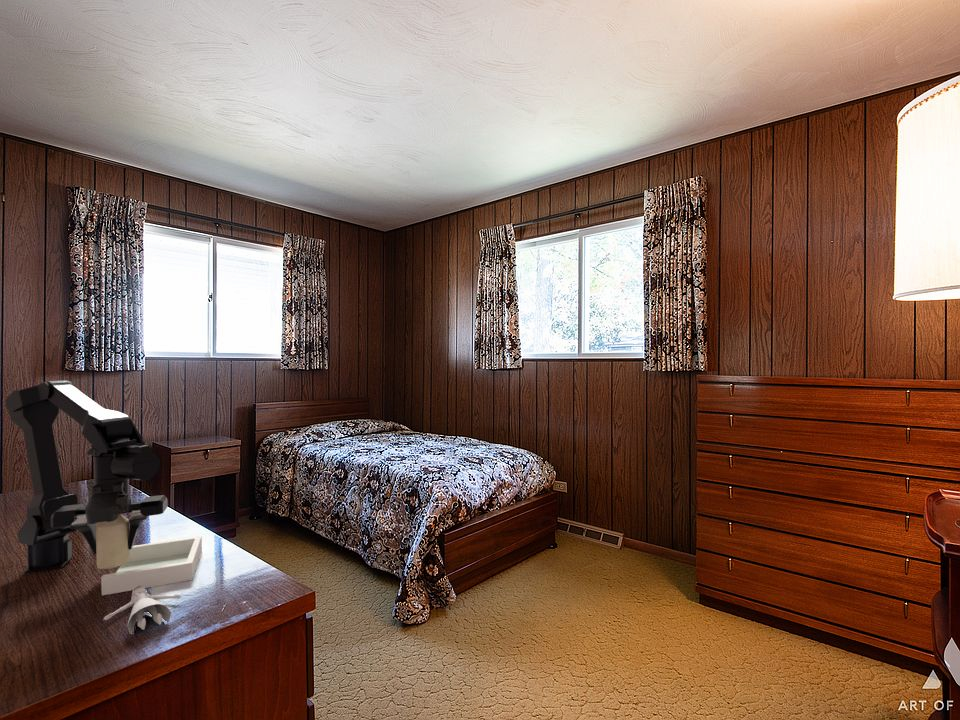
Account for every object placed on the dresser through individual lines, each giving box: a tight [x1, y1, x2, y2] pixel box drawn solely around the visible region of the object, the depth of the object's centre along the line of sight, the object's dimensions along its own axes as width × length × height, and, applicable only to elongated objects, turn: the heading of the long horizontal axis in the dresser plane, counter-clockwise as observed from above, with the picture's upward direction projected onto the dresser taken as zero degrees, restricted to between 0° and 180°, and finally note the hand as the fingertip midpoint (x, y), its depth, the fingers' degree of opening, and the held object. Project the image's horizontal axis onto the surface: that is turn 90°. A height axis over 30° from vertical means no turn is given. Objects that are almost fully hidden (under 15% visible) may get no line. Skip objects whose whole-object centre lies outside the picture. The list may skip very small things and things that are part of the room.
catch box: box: [100, 535, 203, 596], centre depth 105 cm, size 15×16×4 cm
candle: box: [95, 513, 130, 570], centre depth 101 cm, size 6×6×10 cm
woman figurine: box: [103, 586, 183, 635], centre depth 87 cm, size 12×4×18 cm
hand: (113, 551), depth 101 cm, fingers closed on candle, 5 cm apart
